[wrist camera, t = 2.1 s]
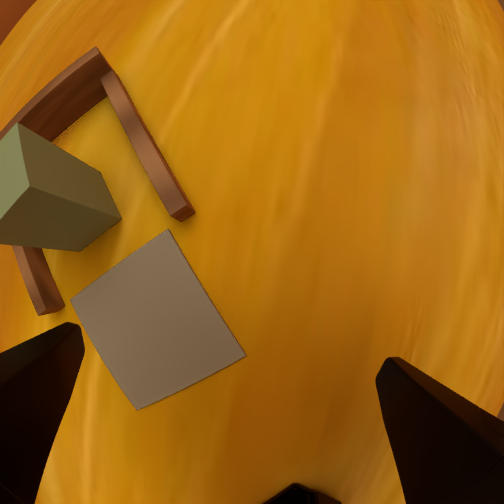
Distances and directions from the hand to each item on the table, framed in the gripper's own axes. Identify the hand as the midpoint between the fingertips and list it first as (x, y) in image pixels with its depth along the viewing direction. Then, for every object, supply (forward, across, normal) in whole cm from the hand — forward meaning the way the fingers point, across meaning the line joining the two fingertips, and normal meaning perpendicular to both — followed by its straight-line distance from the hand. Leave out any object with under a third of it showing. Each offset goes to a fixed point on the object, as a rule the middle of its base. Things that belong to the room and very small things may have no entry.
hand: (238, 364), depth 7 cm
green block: (+14, +11, 0) cm, 18 cm away
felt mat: (+10, +5, +7) cm, 14 cm away
